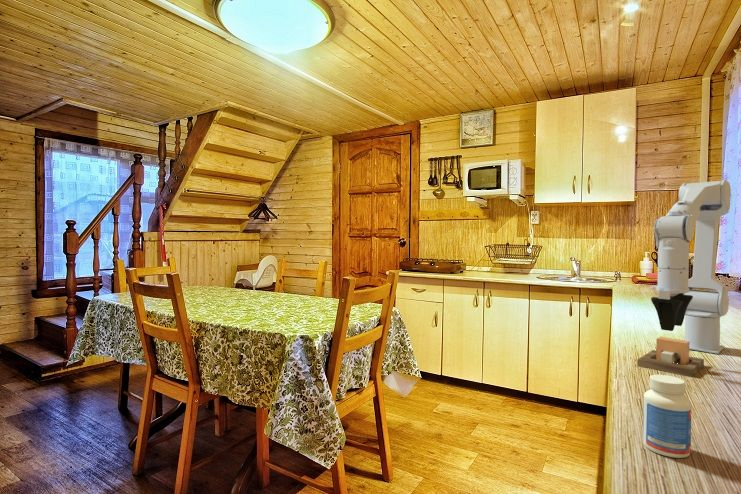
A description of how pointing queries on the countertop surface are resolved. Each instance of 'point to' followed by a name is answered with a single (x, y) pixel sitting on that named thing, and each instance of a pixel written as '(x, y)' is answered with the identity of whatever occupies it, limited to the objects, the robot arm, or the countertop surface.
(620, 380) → the countertop surface
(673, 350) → the orange block
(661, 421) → the pill bottle
